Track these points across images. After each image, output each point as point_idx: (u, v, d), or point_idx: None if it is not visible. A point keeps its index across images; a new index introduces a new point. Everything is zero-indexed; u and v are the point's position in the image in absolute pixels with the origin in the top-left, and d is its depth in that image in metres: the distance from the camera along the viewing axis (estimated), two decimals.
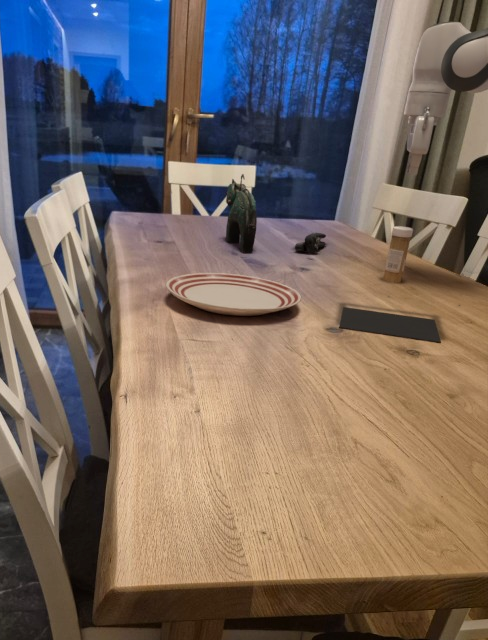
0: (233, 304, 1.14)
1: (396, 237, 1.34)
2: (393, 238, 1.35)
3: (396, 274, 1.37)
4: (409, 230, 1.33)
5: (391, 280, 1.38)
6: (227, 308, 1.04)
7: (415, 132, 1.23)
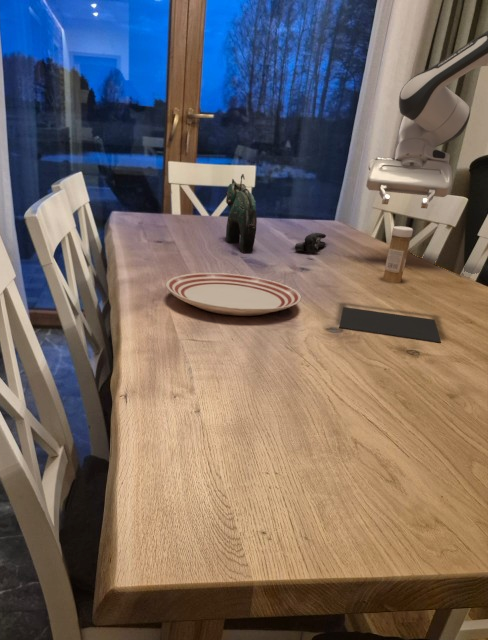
0: (233, 304, 1.14)
1: (396, 237, 1.34)
2: (393, 238, 1.35)
3: (396, 274, 1.37)
4: (409, 230, 1.33)
5: (391, 280, 1.38)
6: (227, 308, 1.04)
7: None
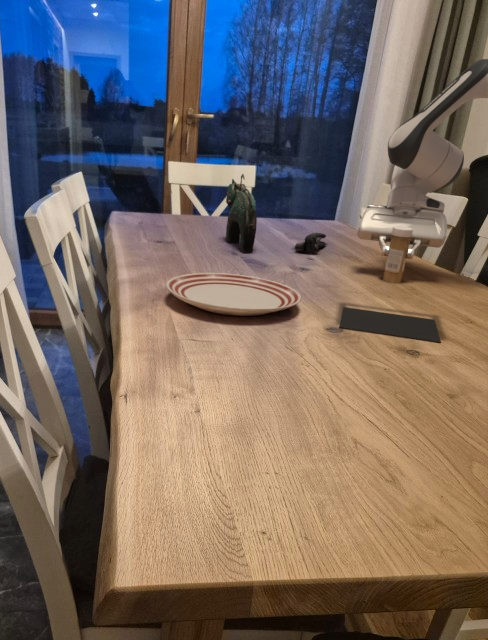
0: (233, 304, 1.14)
1: (396, 237, 1.34)
2: (393, 238, 1.35)
3: (396, 274, 1.37)
4: (409, 230, 1.33)
5: (391, 280, 1.38)
6: (227, 308, 1.04)
7: None
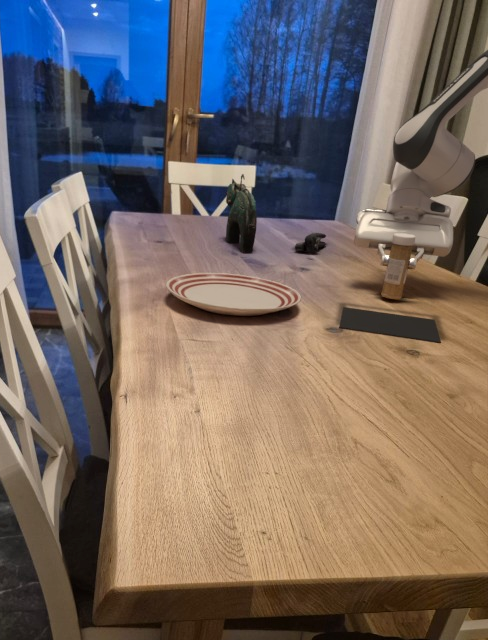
0: (233, 304, 1.14)
1: (397, 245, 1.20)
2: (393, 246, 1.21)
3: (397, 286, 1.23)
4: (411, 237, 1.19)
5: (391, 293, 1.24)
6: (227, 308, 1.04)
7: None
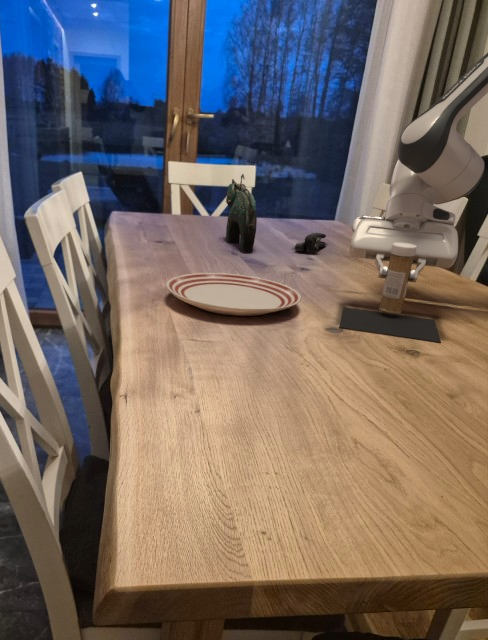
0: (233, 304, 1.14)
1: (396, 255, 1.10)
2: (392, 257, 1.10)
3: (396, 301, 1.13)
4: (412, 248, 1.08)
5: (390, 308, 1.13)
6: (227, 308, 1.04)
7: None
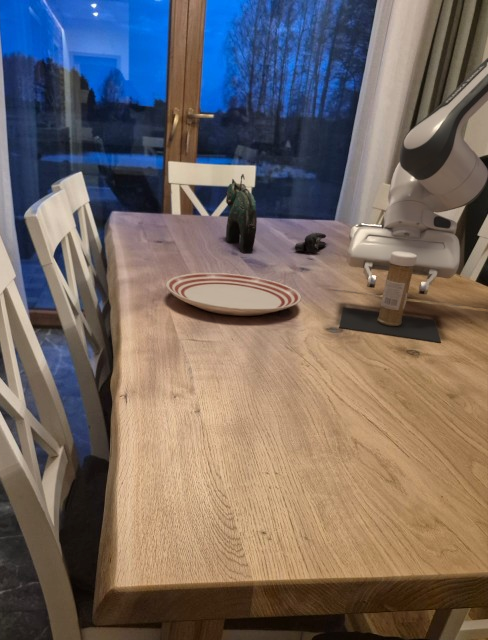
0: (233, 304, 1.14)
1: (395, 265, 1.05)
2: (391, 267, 1.06)
3: (395, 312, 1.08)
4: (412, 257, 1.04)
5: (389, 319, 1.09)
6: (227, 308, 1.04)
7: None
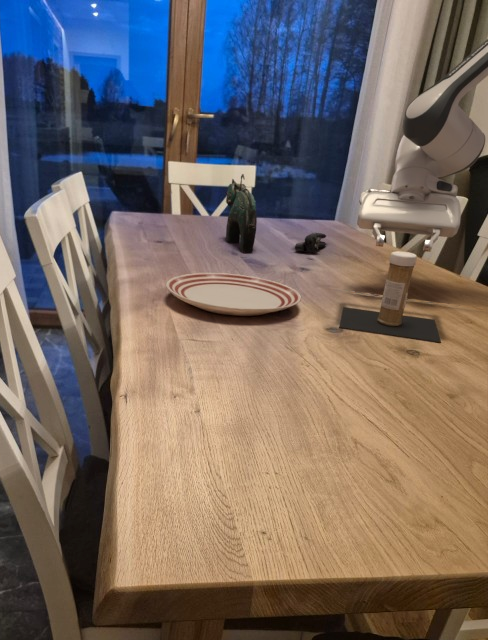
0: (233, 304, 1.14)
1: (396, 265, 1.05)
2: (391, 267, 1.06)
3: (395, 312, 1.08)
4: (412, 257, 1.04)
5: (389, 319, 1.09)
6: (227, 308, 1.04)
7: None
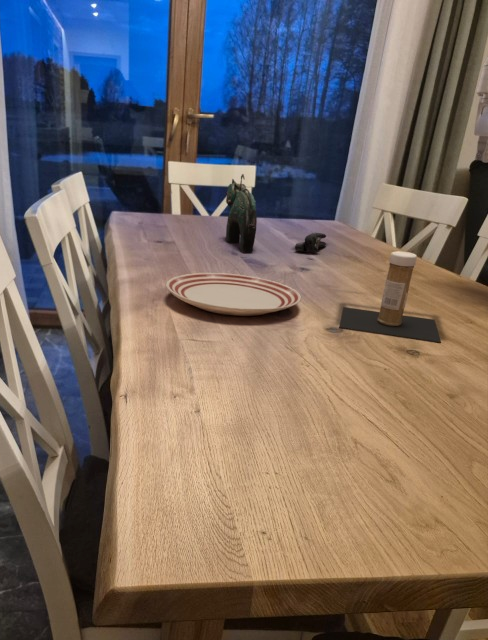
0: (233, 304, 1.14)
1: (396, 265, 1.05)
2: (391, 267, 1.06)
3: (395, 312, 1.08)
4: (412, 257, 1.04)
5: (389, 319, 1.09)
6: (227, 308, 1.04)
7: None
